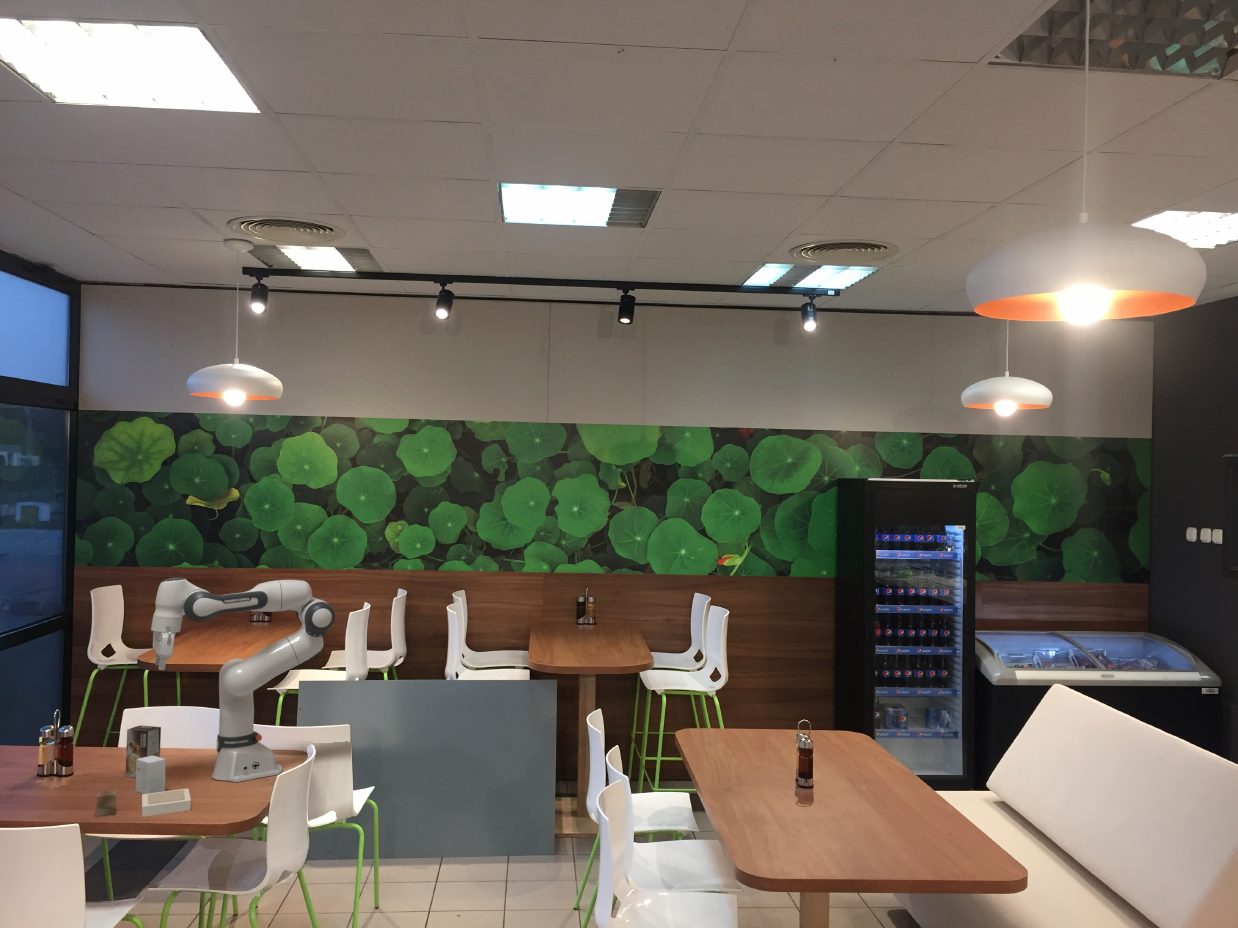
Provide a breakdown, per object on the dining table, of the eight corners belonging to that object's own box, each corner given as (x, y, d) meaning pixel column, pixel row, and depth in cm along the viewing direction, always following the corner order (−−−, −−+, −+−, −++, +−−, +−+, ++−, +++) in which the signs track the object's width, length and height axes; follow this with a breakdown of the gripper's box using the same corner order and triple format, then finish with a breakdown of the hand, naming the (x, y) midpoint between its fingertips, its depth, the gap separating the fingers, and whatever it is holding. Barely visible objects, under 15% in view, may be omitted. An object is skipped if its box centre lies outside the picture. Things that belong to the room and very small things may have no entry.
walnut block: (115, 809, 266) (116, 789, 266) (115, 814, 262) (116, 794, 262) (96, 812, 263) (97, 792, 264) (95, 817, 259) (96, 796, 259)
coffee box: (160, 773, 302) (162, 726, 303) (146, 778, 296) (148, 730, 297) (138, 771, 305) (140, 724, 306) (124, 776, 298) (126, 729, 299)
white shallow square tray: (188, 797, 277) (188, 787, 278) (190, 810, 266) (190, 799, 266) (141, 803, 271) (142, 793, 271) (141, 816, 260) (142, 805, 260)
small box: (165, 791, 283) (166, 758, 284) (147, 796, 279) (149, 762, 279) (152, 786, 288) (153, 754, 288) (134, 791, 283) (136, 758, 284)
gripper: (181, 630, 286) (174, 672, 285) (172, 622, 303) (166, 662, 302) (159, 629, 283) (152, 672, 281) (152, 621, 300) (145, 661, 298)
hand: (159, 667), depth 292 cm, fingers open, 8 cm apart
